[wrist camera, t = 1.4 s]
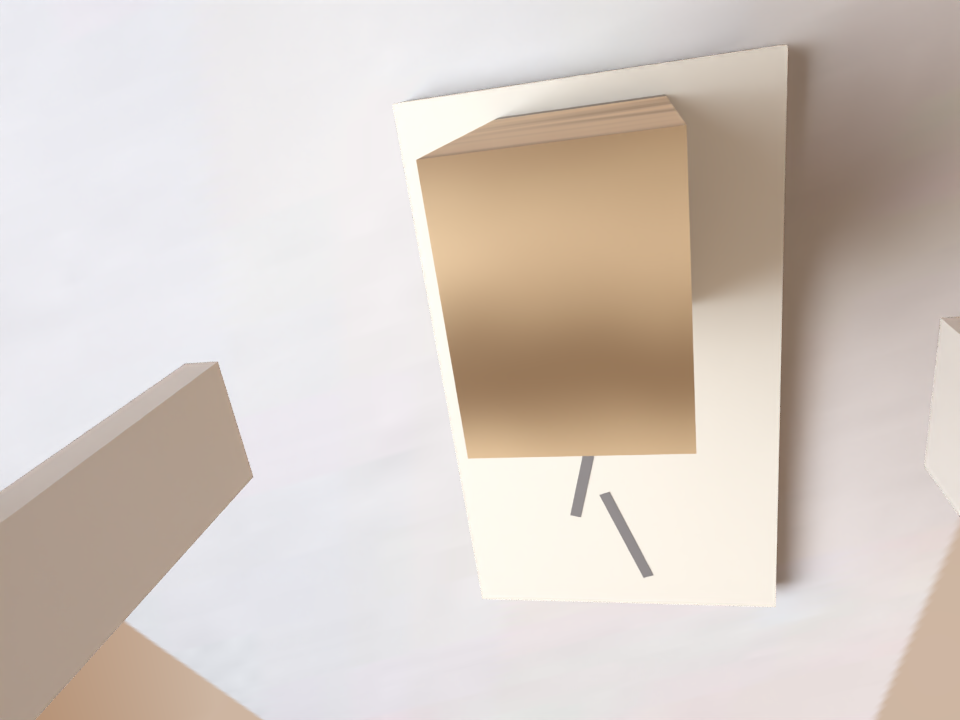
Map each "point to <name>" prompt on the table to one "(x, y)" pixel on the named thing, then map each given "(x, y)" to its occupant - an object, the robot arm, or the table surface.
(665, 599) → the board
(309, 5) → the table surface
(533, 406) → the block
